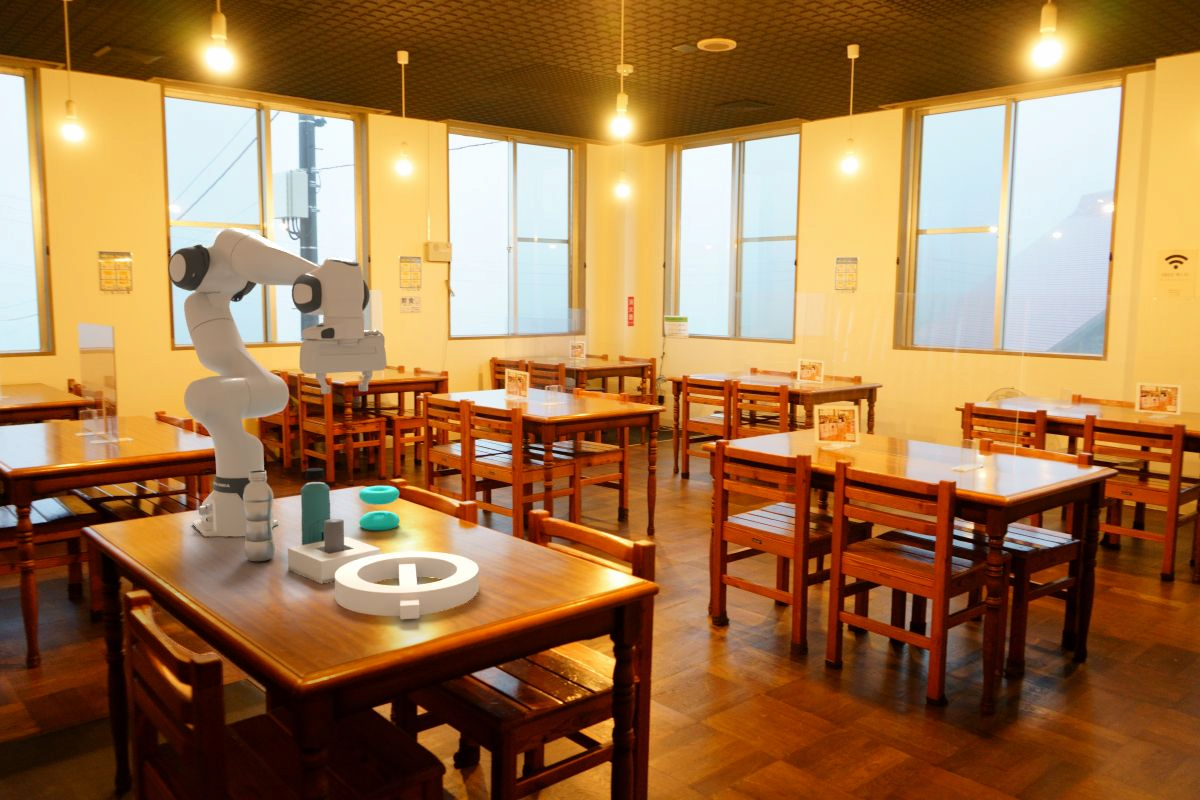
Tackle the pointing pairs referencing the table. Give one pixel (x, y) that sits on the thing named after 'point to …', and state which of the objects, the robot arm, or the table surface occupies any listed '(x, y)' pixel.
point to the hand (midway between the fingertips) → (344, 392)
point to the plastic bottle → (258, 518)
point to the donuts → (379, 518)
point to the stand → (326, 558)
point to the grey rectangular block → (334, 535)
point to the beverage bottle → (314, 507)
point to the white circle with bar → (406, 583)
